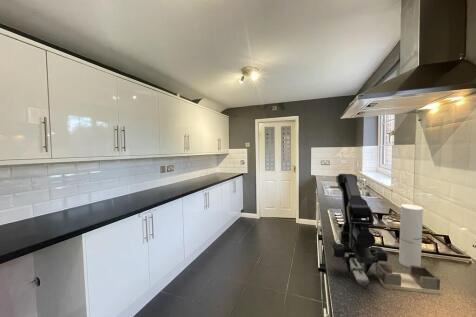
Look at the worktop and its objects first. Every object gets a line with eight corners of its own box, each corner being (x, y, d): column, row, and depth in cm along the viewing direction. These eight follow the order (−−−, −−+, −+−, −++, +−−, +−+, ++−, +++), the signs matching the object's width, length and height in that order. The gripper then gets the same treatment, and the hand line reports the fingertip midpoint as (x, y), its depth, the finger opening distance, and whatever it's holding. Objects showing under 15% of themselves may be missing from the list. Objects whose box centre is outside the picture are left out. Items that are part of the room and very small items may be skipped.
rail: (347, 266, 88) (347, 257, 88) (357, 266, 87) (357, 257, 87) (356, 285, 77) (356, 275, 76) (368, 286, 76) (368, 276, 75)
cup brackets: (375, 271, 82) (375, 262, 82) (425, 276, 78) (425, 266, 78) (384, 284, 75) (384, 274, 74) (439, 290, 71) (440, 279, 70)
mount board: (374, 273, 82) (374, 270, 82) (424, 278, 79) (424, 275, 79) (384, 288, 74) (384, 284, 74) (440, 294, 70) (440, 291, 70)
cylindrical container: (424, 269, 84) (427, 209, 82) (405, 267, 85) (407, 209, 83) (413, 259, 91) (415, 204, 89) (395, 258, 92) (397, 204, 90)
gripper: (337, 242, 75) (337, 283, 76) (396, 247, 71) (394, 289, 72) (330, 229, 86) (330, 265, 87) (381, 233, 81) (380, 270, 83)
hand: (357, 272), depth 82 cm, fingers open, 6 cm apart
